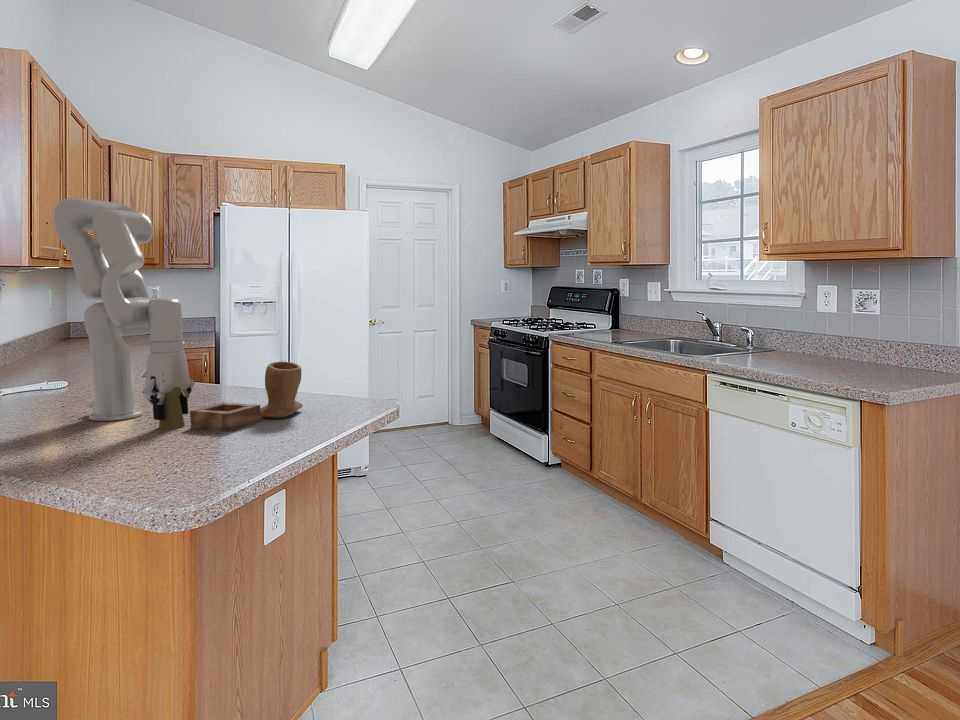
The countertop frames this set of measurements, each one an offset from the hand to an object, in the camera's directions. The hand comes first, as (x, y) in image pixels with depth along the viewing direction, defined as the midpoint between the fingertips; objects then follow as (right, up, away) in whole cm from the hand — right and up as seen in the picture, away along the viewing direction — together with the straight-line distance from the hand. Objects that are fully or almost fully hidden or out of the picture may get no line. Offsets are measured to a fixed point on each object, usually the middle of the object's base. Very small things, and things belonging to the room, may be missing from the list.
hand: (171, 416), depth 158 cm
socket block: (+13, -2, +2) cm, 14 cm away
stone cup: (+24, -1, +15) cm, 28 cm away
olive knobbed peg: (0, -3, 0) cm, 3 cm away
